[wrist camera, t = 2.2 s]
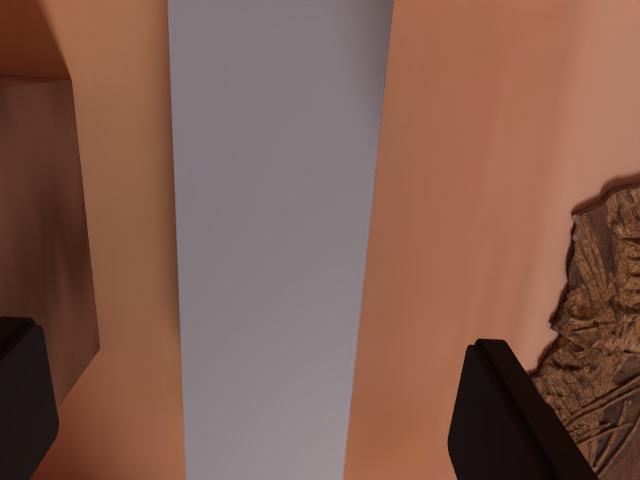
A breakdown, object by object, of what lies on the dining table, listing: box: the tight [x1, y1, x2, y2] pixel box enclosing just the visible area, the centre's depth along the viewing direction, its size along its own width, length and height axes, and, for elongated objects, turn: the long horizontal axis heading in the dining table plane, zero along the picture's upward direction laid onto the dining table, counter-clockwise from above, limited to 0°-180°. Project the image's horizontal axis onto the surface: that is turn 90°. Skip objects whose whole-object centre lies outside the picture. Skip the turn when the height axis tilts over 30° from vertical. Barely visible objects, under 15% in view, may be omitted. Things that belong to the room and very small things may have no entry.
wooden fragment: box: [529, 182, 640, 480], centre depth 25 cm, size 26×11×1 cm, turn 169°
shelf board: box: [167, 0, 394, 480], centre depth 17 cm, size 20×6×2 cm, turn 176°
